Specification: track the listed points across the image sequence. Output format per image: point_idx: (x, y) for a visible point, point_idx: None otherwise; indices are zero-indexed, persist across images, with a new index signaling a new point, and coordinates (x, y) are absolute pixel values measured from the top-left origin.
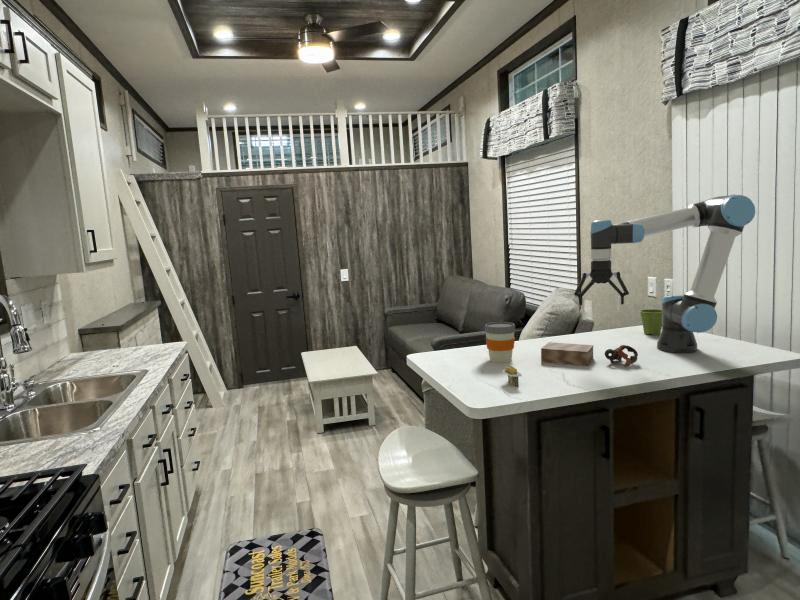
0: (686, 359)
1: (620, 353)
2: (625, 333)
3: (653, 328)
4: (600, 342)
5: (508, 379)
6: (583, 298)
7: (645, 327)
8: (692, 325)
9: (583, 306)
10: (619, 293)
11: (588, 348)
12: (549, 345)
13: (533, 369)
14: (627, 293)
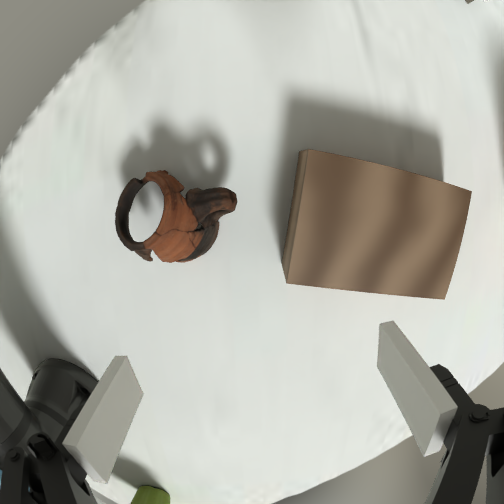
0: (34, 298)
1: (171, 183)
2: (206, 497)
3: (145, 495)
4: (260, 443)
5: (469, 1)
6: (443, 404)
7: (162, 501)
8: None
9: (410, 354)
10: (60, 471)
11: (306, 217)
12: (447, 246)
13: (451, 95)
14: (12, 452)
